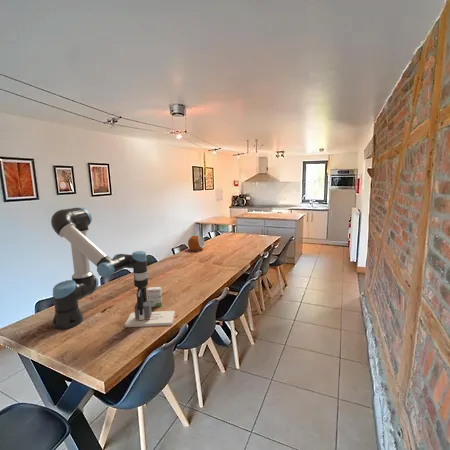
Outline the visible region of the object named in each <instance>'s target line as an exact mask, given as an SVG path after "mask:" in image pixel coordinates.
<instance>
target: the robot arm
mask: <svg viewBox="0 0 450 450" xmlns="http://www.w3.org/2000/svg"><path fill="white" fill-rule="evenodd" d="M92 221H93V218H92V214H91V213H90V211H89V210H88V209H86V208H84V207H71V208H67V209H66V208H64V209H63V208H62V209H59V210H57V211H55V212H54V213H53V215H52V216H51V220H50V223H51V227H52V229H53V231H54V232H55V233H56V234H57V236H59V237H61V238H64V239H66V240H67V241H68V242H69V244H70V247H71V248H70V249H71V255H72V256H71V257H72V265H73V272H74V273H73V274H72V275H71V279H69V280H64V281H60V282H59V283H56V284H55V285H54V287H53V288H52V299H53V305H54V316H53V319H52V327H53V328H54V329H57V330H66V329H71V328H74V327H76V326H79V325H80V324H81V323H82V322H83V321H84V315H83V313H82V312H81V309H80V307H79V300H82V299H83V298H85V297H87V296H90V295H91V294H93V293H94V292H96V291H97V289H98V287H99V279H98V278H97V276H96V275H95V274H94V272H93V271H91V267H90V262H91V263H92V264H93V265H94V266H96V272H97V274H98V276H100V277H101V278H106V277H110V276H112V275H114V274H116V273H118V272H119V271H122V270H124V269H132V271H133V284H134V285H133V286H134V287H135V288H137V291H136V303H137V310H139V320H144V319H145V318H144V308H143V302H148V298H147V286H148V285H149V278H148V275H149V272H148V267H147V266H148V265H147V264H148V263H147V261H148V259H147V253H146V252H145V251H143V250H136V251H133V252H132V254H127V253H126V254H124V253H117V254H114V256H113V257H112V258H111V257H110V256H109V255H107V254H106V253H105V252H104V251H103V250H101V249H100V248H99V247H98V245H96V244H95V243H94V242H93V241H92V240H90V239H89V238H88V237H87V232H88V231H89V226H90V225H91V223H92Z"/></svg>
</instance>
